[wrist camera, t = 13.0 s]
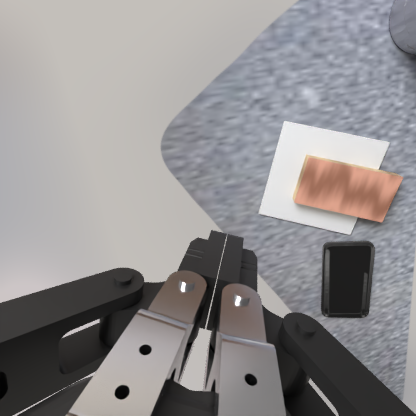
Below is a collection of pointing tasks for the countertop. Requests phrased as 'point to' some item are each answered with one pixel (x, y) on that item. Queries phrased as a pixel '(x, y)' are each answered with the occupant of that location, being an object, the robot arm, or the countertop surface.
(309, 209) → the white square pad
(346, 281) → the phone
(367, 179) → the brown flat rectangular block
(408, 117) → the countertop surface
